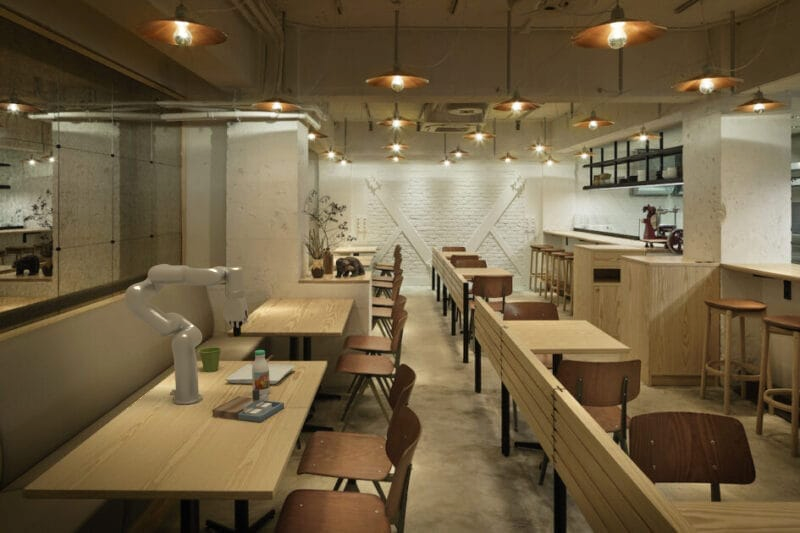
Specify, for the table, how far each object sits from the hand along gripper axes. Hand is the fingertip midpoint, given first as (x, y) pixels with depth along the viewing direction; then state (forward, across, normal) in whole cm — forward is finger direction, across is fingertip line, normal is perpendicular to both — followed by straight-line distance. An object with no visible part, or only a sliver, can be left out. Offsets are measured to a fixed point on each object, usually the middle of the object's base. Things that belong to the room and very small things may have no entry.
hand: (237, 335), depth 264 cm
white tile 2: (+29, +18, -9) cm, 35 cm away
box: (+29, +20, -13) cm, 37 cm away
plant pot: (+29, -44, +37) cm, 65 cm away
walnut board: (+29, +8, -13) cm, 33 cm away
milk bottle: (+29, +4, +11) cm, 32 cm away
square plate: (+30, -10, +33) cm, 46 cm away
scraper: (+26, +17, -13) cm, 34 cm away
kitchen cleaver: (+30, -27, +60) cm, 72 cm away
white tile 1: (+29, +18, -17) cm, 38 cm away
